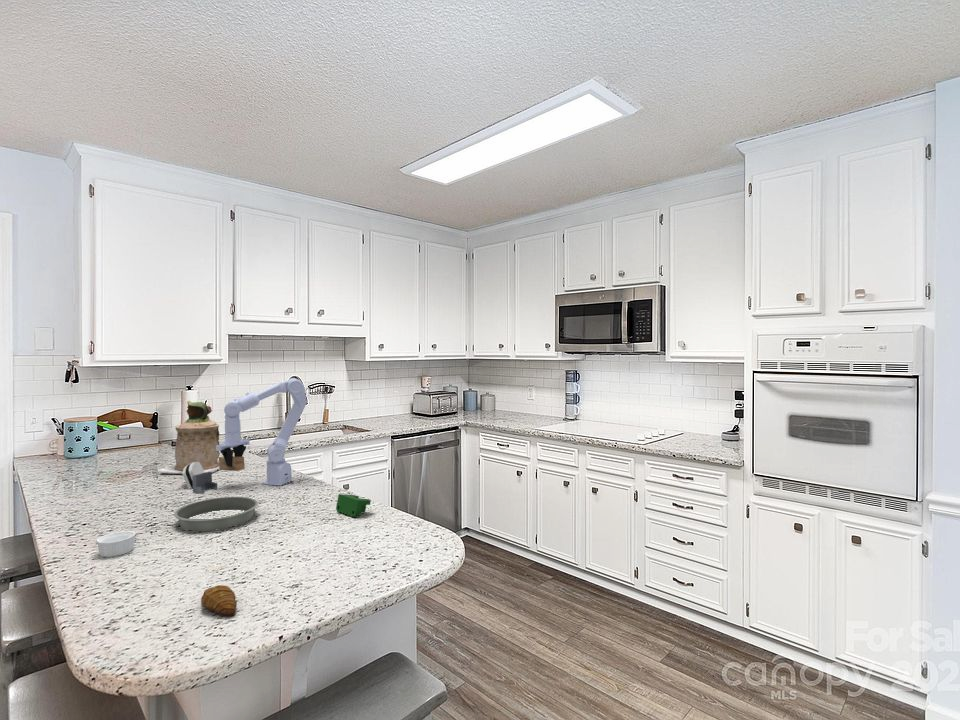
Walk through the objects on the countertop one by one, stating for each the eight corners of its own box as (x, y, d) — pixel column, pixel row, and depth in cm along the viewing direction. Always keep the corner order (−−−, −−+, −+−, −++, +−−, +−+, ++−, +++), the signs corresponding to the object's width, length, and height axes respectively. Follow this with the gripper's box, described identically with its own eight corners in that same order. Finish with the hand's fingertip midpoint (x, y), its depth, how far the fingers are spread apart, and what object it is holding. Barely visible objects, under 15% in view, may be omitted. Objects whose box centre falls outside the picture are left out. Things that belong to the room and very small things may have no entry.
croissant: (190, 603, 116) (190, 581, 116) (222, 592, 121) (221, 571, 121) (214, 625, 107) (213, 601, 107) (247, 612, 112) (247, 589, 112)
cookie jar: (210, 475, 233) (208, 403, 232) (155, 475, 233) (153, 403, 232) (236, 462, 258) (235, 397, 257) (187, 463, 258) (185, 398, 257)
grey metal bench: (217, 489, 209) (217, 472, 209) (201, 493, 203) (201, 476, 203) (208, 487, 211) (208, 471, 211) (192, 492, 205) (192, 475, 205)
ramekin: (106, 560, 140) (105, 544, 140) (91, 554, 144) (90, 538, 144) (142, 549, 147) (141, 534, 147) (126, 543, 152) (126, 528, 152)
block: (244, 469, 212) (244, 456, 212) (237, 471, 208) (236, 458, 208) (227, 468, 216) (226, 455, 216) (219, 470, 213) (218, 457, 212)
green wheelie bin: (363, 526, 177) (375, 503, 176) (349, 527, 173) (360, 503, 172) (347, 506, 185) (358, 483, 184) (333, 505, 181) (343, 483, 180)
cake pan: (155, 528, 165) (155, 514, 165) (219, 506, 188) (219, 493, 188) (215, 538, 156) (215, 523, 156) (274, 513, 179) (274, 500, 179)
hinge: (202, 488, 211) (192, 465, 210) (189, 493, 210) (179, 470, 209) (210, 478, 227) (201, 457, 226) (199, 482, 226) (189, 461, 225)
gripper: (240, 428, 220) (241, 460, 220) (210, 434, 206) (211, 468, 207) (252, 429, 217) (253, 462, 217) (222, 435, 203) (223, 469, 204)
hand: (233, 465), depth 212 cm, fingers closed on block, 3 cm apart
